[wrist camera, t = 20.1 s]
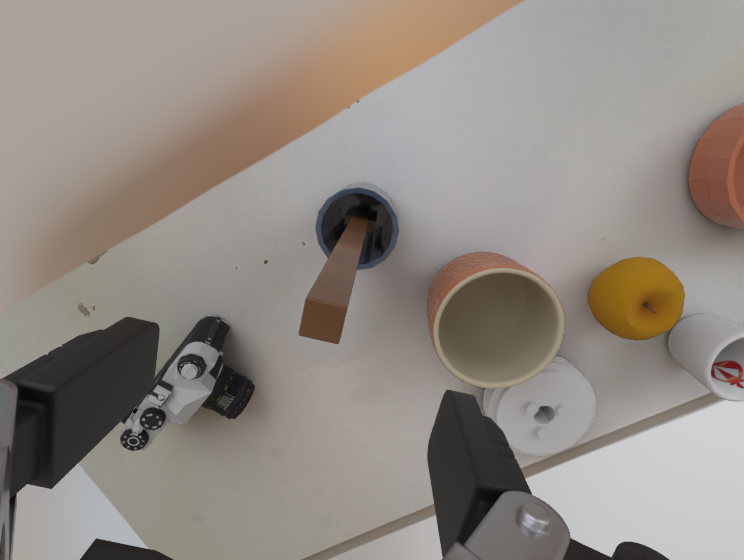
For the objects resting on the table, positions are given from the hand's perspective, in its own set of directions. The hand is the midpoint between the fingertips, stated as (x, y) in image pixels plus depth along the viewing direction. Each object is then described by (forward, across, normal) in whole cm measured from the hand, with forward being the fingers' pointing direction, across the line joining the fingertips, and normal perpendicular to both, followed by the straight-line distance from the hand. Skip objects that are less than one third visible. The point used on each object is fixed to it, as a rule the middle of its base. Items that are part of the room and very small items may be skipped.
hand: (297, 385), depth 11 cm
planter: (+37, -15, +6) cm, 41 cm away
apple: (+37, -30, +1) cm, 48 cm away
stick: (+36, 0, 0) cm, 37 cm away
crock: (+37, 0, 0) cm, 37 cm away
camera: (+37, +14, +24) cm, 46 cm away
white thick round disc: (+37, -26, +17) cm, 48 cm away
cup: (+37, -43, +4) cm, 57 cm away
